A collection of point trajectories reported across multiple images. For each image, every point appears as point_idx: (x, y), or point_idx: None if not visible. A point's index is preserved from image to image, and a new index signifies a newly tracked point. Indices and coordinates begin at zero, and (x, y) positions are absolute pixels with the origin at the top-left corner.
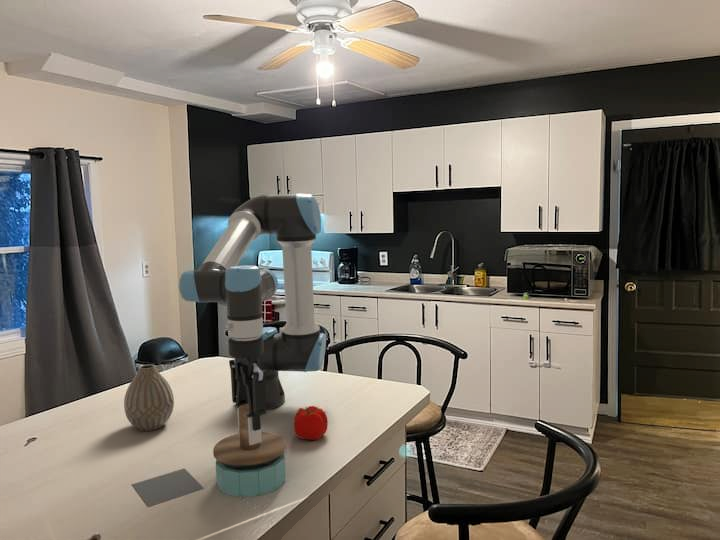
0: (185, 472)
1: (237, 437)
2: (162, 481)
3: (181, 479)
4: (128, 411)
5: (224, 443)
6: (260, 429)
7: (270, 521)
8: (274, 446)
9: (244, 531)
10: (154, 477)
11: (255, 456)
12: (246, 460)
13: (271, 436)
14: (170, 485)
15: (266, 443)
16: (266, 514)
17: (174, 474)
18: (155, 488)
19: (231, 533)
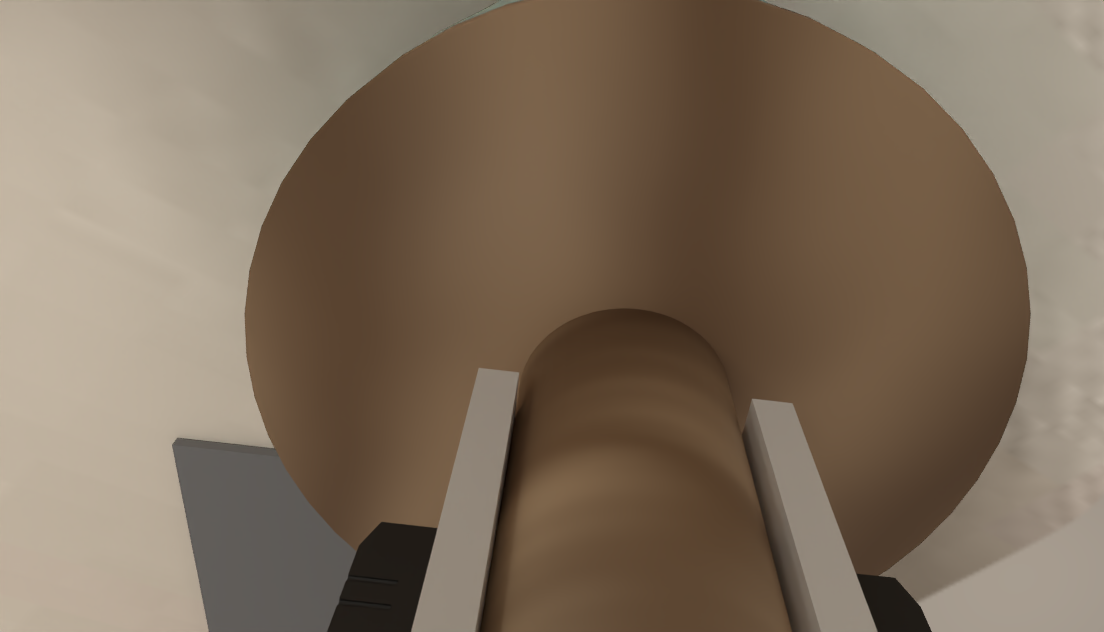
0: (234, 463)
1: (338, 375)
2: (270, 569)
3: (310, 509)
4: None
5: (395, 511)
6: (830, 524)
7: (1098, 415)
8: (857, 244)
9: (1027, 532)
10: (198, 575)
11: (864, 483)
12: (855, 560)
13: (589, 98)
14: (342, 564)
15: (714, 261)
16: (1025, 392)
17: (224, 508)
18: (326, 612)
19: (979, 570)
